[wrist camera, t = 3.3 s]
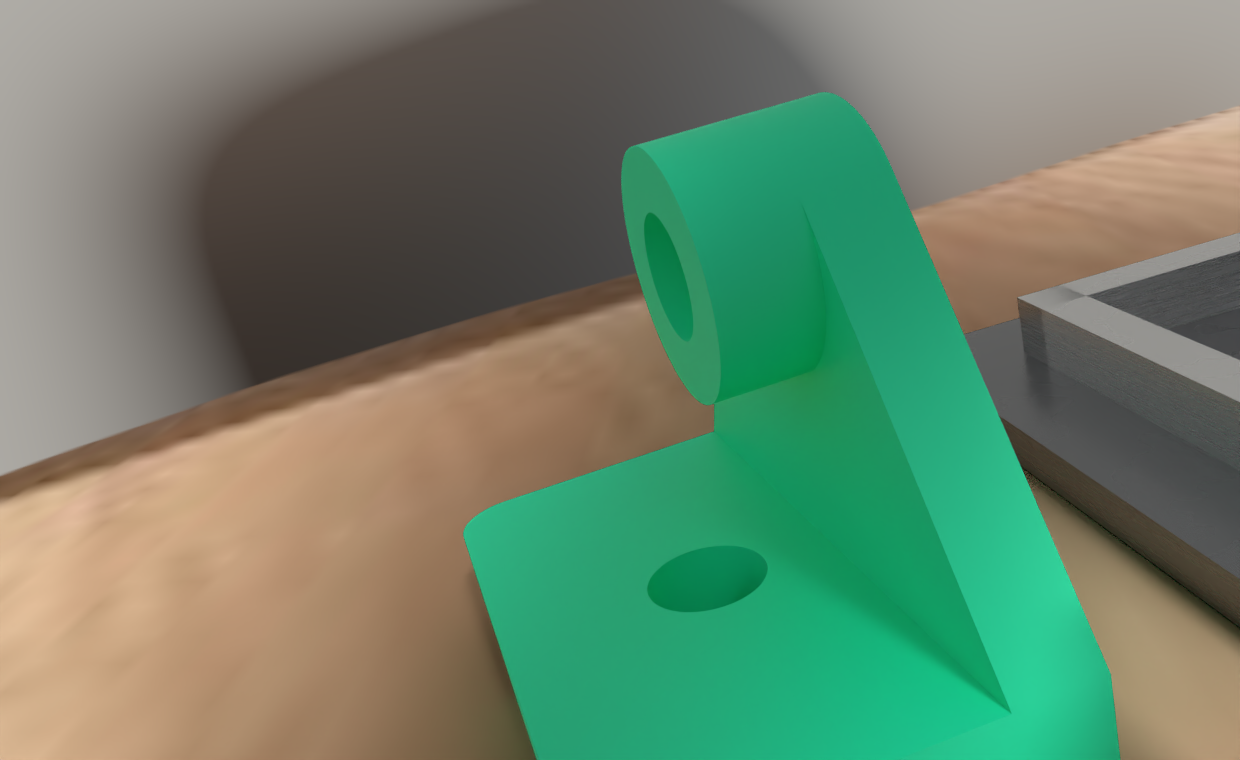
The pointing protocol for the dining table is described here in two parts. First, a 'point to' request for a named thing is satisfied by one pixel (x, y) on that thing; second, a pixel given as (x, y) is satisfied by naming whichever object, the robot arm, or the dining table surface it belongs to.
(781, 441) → the camera mount
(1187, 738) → the dining table surface
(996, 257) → the dining table surface
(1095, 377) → the plate
